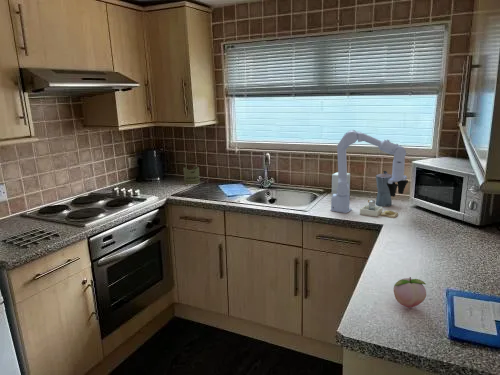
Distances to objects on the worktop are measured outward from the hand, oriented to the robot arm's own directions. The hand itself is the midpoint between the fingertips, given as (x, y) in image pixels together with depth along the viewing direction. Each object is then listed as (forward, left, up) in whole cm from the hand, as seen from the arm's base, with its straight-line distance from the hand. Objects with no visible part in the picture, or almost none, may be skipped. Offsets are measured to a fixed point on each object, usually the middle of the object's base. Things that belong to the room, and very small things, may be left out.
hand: (396, 194), depth 203 cm
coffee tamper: (-11, -6, -10) cm, 16 cm away
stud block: (-2, -4, -10) cm, 11 cm away
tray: (-11, -6, -10) cm, 16 cm away
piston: (-147, -4, -11) cm, 147 cm away
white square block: (-38, +16, -11) cm, 43 cm away
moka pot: (-11, +14, -11) cm, 21 cm away
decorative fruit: (+30, -90, -11) cm, 96 cm away
